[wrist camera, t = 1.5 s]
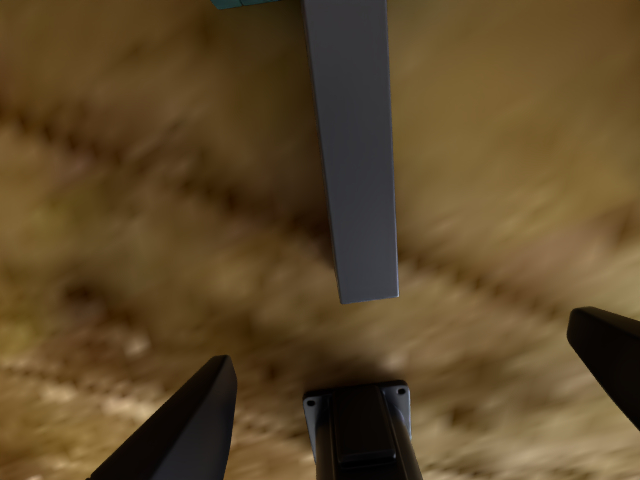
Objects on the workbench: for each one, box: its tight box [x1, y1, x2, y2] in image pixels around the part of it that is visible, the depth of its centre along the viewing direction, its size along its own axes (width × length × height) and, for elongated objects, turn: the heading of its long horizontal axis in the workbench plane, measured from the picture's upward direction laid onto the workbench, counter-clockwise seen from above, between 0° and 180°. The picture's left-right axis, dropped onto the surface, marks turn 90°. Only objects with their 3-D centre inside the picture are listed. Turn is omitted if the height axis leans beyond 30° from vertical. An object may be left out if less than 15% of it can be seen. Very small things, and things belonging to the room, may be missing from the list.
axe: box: [210, 0, 399, 304], centre depth 11 cm, size 22×9×3 cm, turn 7°
